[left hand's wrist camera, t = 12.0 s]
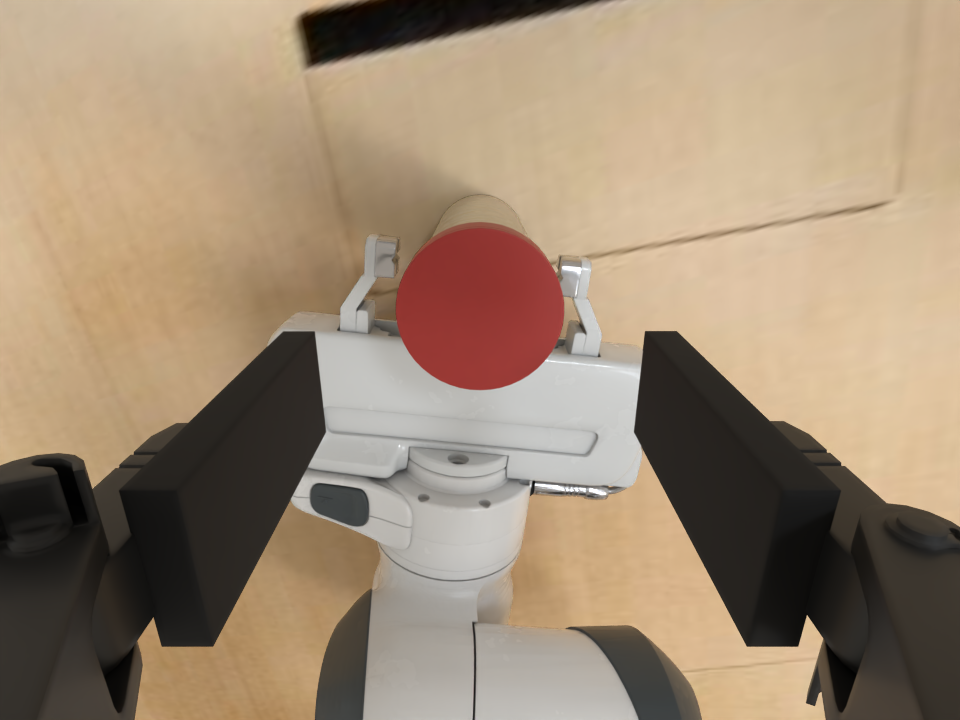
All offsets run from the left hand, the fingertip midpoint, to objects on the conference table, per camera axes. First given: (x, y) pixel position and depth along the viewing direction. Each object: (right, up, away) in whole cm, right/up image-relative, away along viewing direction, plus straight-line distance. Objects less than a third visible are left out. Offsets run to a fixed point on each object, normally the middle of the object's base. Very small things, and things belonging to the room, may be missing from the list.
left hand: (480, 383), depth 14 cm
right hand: (0, +6, +14) cm, 15 cm away
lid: (0, +2, +6) cm, 6 cm away
